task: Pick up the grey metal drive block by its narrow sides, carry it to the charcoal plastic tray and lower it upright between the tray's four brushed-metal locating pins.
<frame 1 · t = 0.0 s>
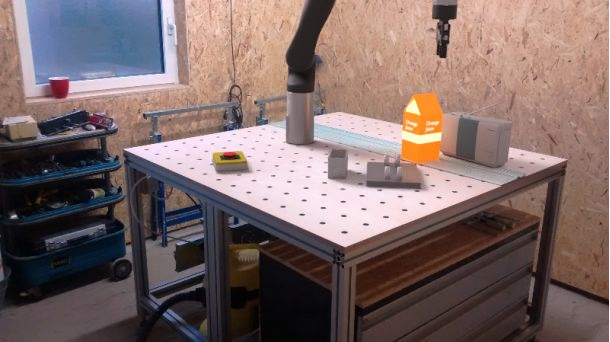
hand: (441, 56, 177), 29 cm above the table, fingers open, 8 cm apart
pin tray: (392, 176, 153), on the table
stereo radio cassette player: (472, 160, 170), on the table
drive: (337, 174, 155), on the table
emergency button: (229, 167, 163), on the table
orange juice: (419, 159, 171), on the table
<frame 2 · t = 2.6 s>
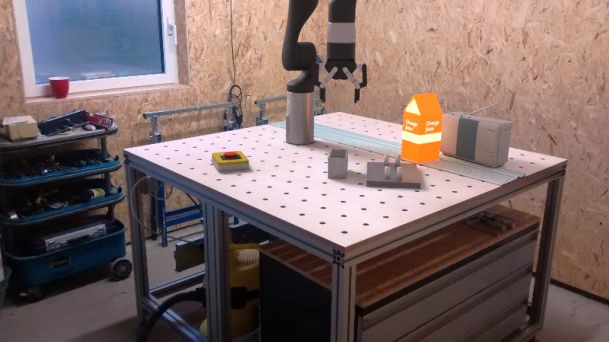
hand: (339, 102, 149), 20 cm above the table, fingers open, 8 cm apart
nothing on the table moved.
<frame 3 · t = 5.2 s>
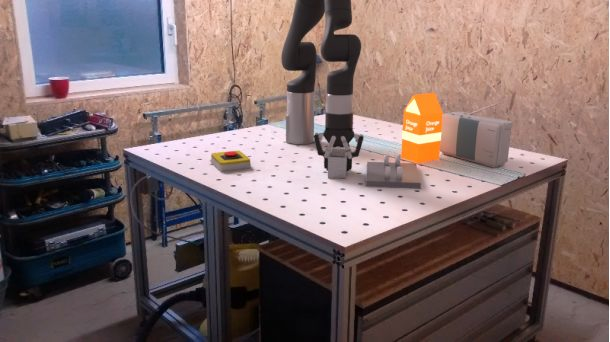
hand: (338, 170, 155), 1 cm above the table, fingers closed on drive, 5 cm apart
drive: (337, 173, 155), on the table, touching gripper
everything else where it was.
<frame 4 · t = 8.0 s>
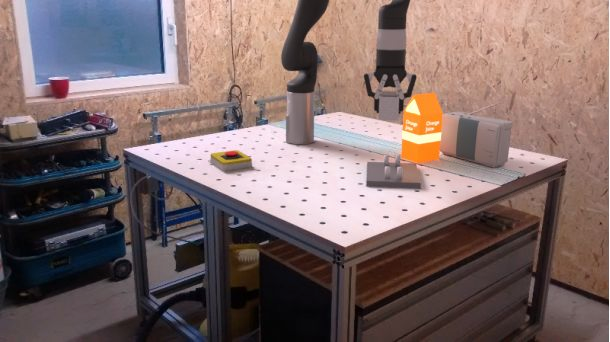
hand: (388, 112, 147), 18 cm above the table, fingers closed on drive, 5 cm apart
drive: (388, 116, 147), point 17 cm above the table, touching gripper
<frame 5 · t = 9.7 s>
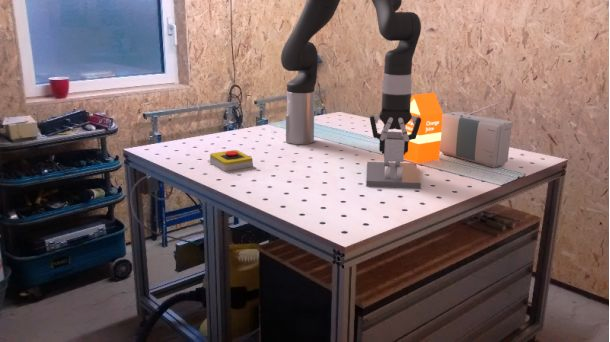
hand: (393, 153, 151), 7 cm above the table, fingers closed on drive, 5 cm apart
drive: (393, 157, 151), point 6 cm above the table, touching gripper
when the fingers open (3 cm above the table, at t = 11.2 s): drive stays where it is, resting on pin tray.
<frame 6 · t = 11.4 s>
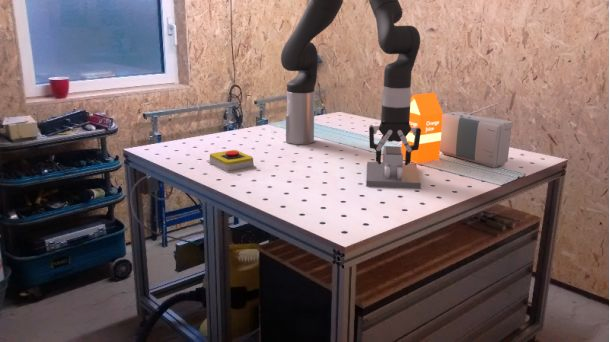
hand: (392, 163, 152), 4 cm above the table, fingers open, 6 cm apart
drive: (392, 171, 152), point 1 cm above the table, touching pin tray
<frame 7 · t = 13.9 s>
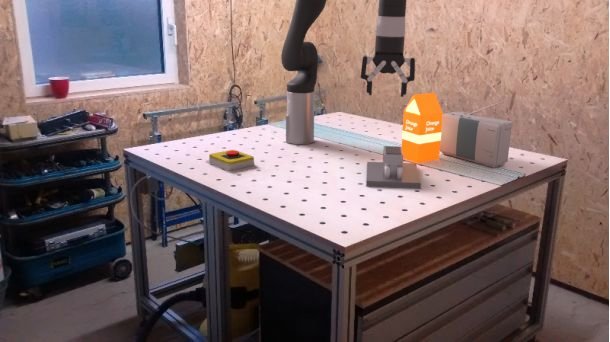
hand: (386, 95, 150), 22 cm above the table, fingers open, 8 cm apart
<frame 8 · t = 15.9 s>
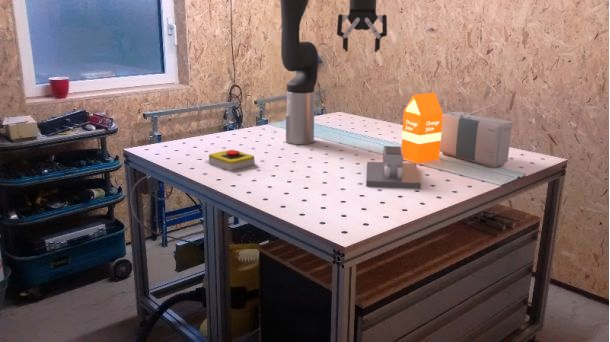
hand: (361, 51, 161), 32 cm above the table, fingers open, 8 cm apart
at the end: drive 0.1 cm off-centre on the pin tray, point 1.5 cm above the pin tray's base; drive tilted 0°; the gripper is holding nothing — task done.
